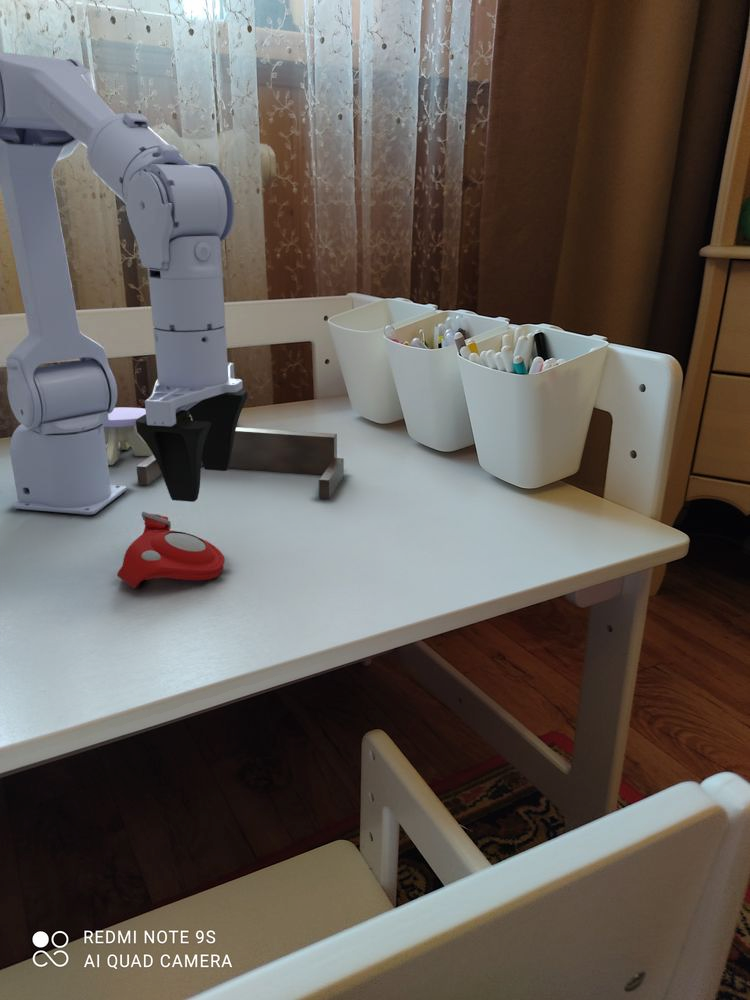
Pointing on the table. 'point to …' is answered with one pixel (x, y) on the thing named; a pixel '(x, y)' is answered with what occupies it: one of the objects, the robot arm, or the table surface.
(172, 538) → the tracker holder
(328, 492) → the footed wooden plank
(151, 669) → the table surface
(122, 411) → the toy table
